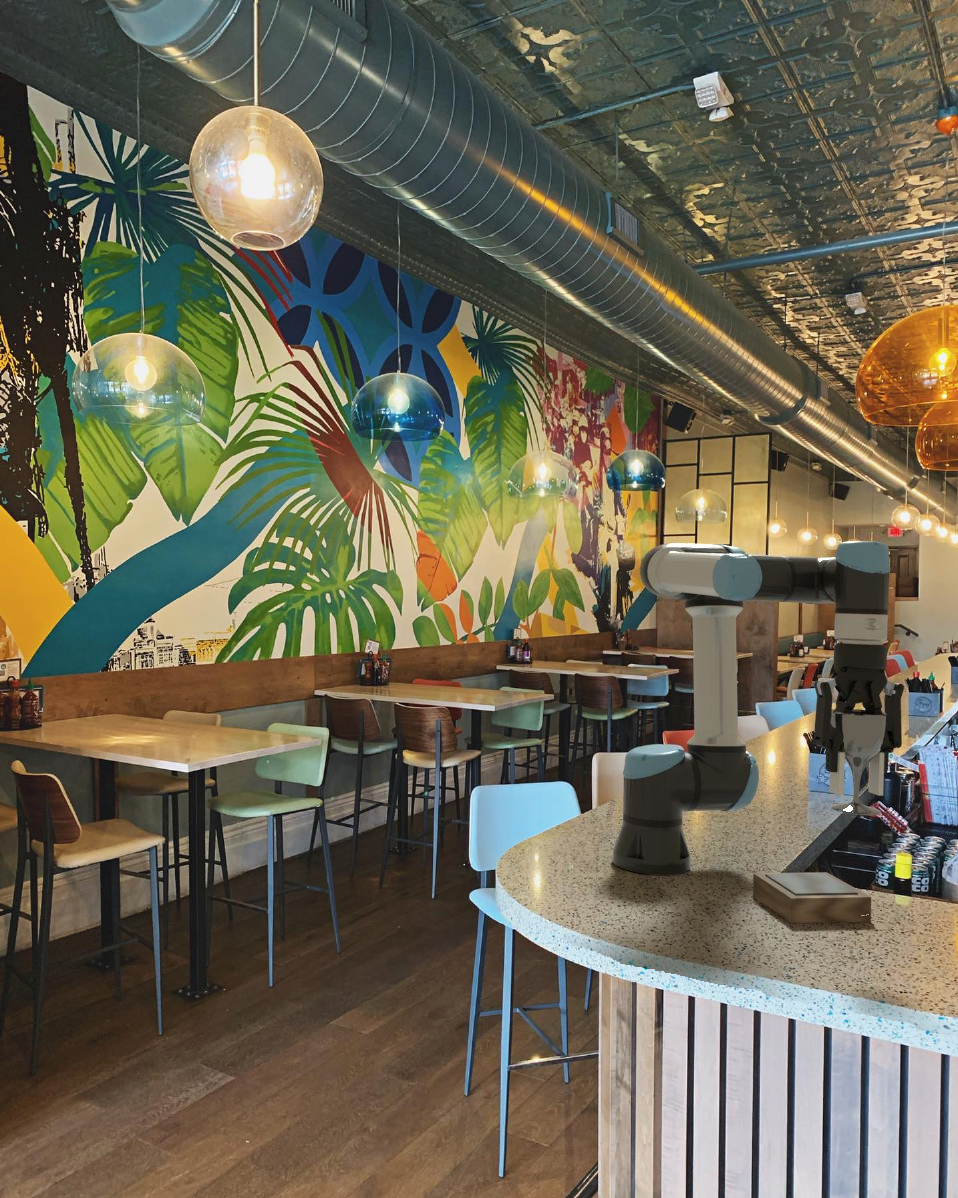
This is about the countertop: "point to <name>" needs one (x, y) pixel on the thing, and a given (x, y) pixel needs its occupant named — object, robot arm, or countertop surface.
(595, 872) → the countertop surface
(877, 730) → the wine glass
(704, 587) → the robot arm
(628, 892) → the countertop surface
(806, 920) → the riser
